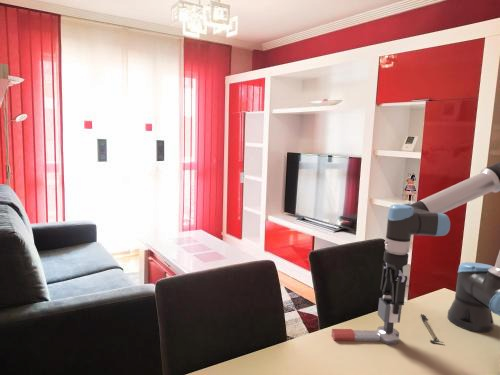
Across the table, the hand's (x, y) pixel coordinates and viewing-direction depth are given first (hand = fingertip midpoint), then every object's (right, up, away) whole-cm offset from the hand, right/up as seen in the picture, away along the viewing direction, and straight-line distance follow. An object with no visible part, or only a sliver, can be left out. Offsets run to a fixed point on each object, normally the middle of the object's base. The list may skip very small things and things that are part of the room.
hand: (389, 317), depth 127 cm
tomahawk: (+19, -8, +9) cm, 23 cm away
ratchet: (-8, -7, +1) cm, 11 cm away
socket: (0, 0, 0) cm, 0 cm away
